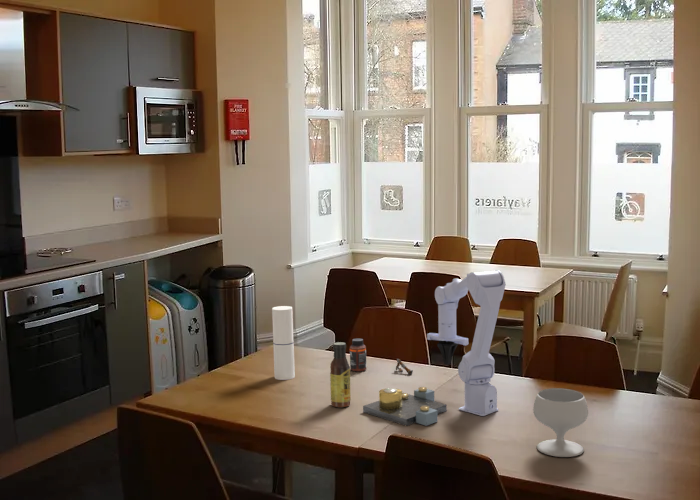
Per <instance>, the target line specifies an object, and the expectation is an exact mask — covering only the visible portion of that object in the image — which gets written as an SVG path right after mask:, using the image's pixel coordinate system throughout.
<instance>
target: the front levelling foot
mask: <svg viewBox="0 0 700 500" xmlns="http://www.w3.org/2000/svg"><path fill="white" fill-rule="evenodd" d="M413 396H417V397H421V398H424V399H428V400H431V401H435V390H433V389H429V388H427V387H426V386H419V387H418V388H417V389H414V390H413Z"/></svg>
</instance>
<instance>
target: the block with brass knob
mask: <svg viewBox="0 0 700 500" xmlns="http://www.w3.org/2000/svg"><path fill="white" fill-rule="evenodd" d="M438 416H439V414H438V410H435V409H431V408H429V406H421V407H420V410H418V411H416V424H419V425H423V426H430V425H432V424H434V423H437V422H438V420H439V419H438Z"/></svg>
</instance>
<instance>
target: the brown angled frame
mask: <svg viewBox="0 0 700 500" xmlns="http://www.w3.org/2000/svg"><path fill="white" fill-rule="evenodd" d="M396 363H397V364H396V366H395V370H396V371H398V372H400V373H403V372H404V370H405V371H406V373H407V376H409V375H412V374H413V371H414V370H413V369H410V368H408V367H407V365H406V364H405V363H403V362H402V360H401V359H399V358H396Z"/></svg>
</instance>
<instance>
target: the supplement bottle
mask: <svg viewBox="0 0 700 500" xmlns="http://www.w3.org/2000/svg"><path fill="white" fill-rule="evenodd" d="M351 343H352V344H351V345H349V362H350V363H349V367H350V371H352V372H359V373H360V372H364V371H366V370H367V346H366V345H365V344H364V339H363V338H353V339H352V340H351Z"/></svg>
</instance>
